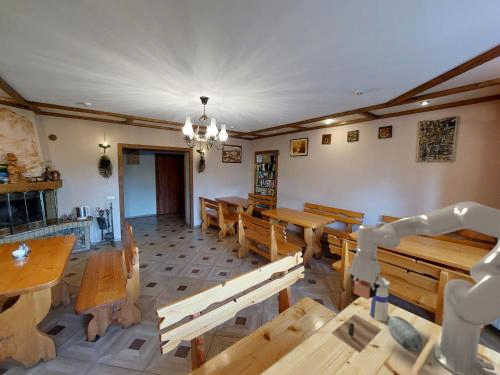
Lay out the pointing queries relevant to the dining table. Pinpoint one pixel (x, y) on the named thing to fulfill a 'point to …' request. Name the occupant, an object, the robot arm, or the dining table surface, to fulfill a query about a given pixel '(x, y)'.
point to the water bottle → (380, 302)
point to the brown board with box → (356, 332)
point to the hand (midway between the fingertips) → (364, 292)
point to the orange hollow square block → (362, 288)
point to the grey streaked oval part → (404, 333)
